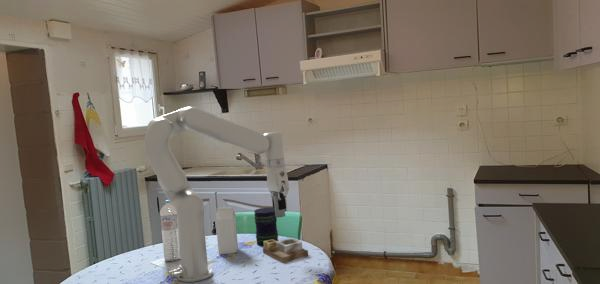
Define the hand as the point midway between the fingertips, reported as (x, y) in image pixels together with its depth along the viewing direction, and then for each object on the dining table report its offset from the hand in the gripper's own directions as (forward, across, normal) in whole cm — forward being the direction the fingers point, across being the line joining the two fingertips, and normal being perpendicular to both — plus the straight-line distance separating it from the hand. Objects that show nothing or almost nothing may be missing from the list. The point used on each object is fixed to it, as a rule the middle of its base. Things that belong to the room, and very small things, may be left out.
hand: (279, 207), depth 176 cm
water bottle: (+19, +30, +37) cm, 51 cm away
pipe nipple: (+3, 0, 0) cm, 3 cm away
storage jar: (+20, +21, -3) cm, 29 cm away
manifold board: (+20, +2, -2) cm, 20 cm away
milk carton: (+20, +23, +15) cm, 34 cm away
